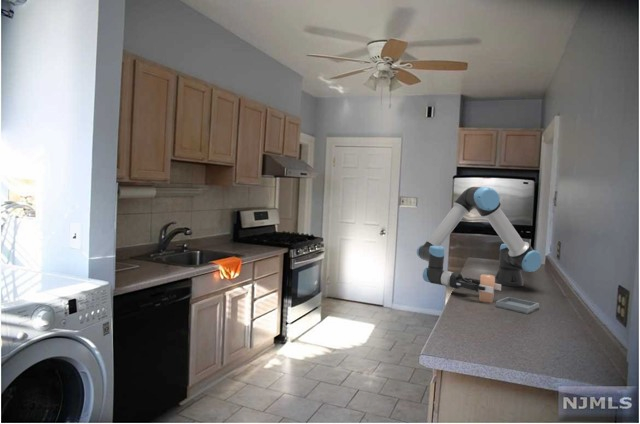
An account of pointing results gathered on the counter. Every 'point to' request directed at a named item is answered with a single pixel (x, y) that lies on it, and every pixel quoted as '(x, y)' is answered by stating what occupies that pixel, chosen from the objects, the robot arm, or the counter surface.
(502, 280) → the robot arm
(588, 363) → the counter surface
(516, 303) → the grey tray
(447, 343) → the counter surface
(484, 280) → the light orange tall cylinder
